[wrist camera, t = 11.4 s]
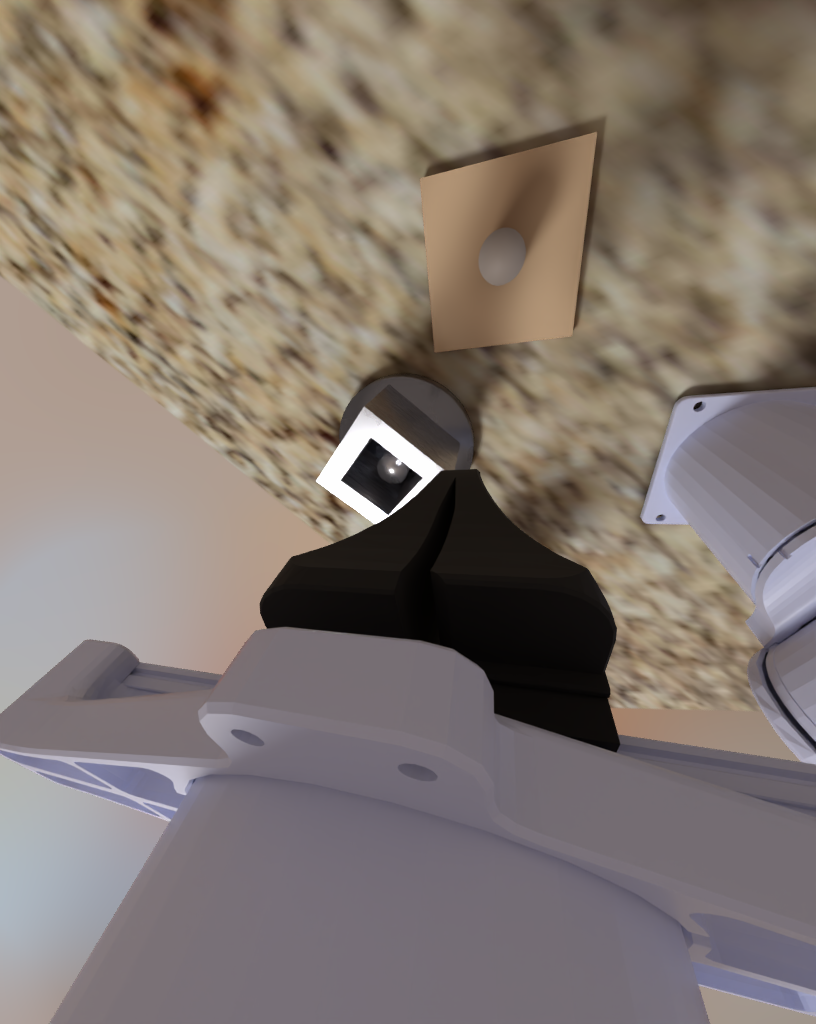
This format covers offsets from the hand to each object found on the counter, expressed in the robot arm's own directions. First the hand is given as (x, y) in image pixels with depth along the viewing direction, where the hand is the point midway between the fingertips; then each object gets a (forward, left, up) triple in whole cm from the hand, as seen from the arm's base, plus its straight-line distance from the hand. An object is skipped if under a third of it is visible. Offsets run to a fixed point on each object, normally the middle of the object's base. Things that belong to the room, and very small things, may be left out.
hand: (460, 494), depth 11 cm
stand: (-1, -7, -10) cm, 13 cm away
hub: (+5, +2, -10) cm, 12 cm away
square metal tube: (+5, +2, -9) cm, 11 cm away
